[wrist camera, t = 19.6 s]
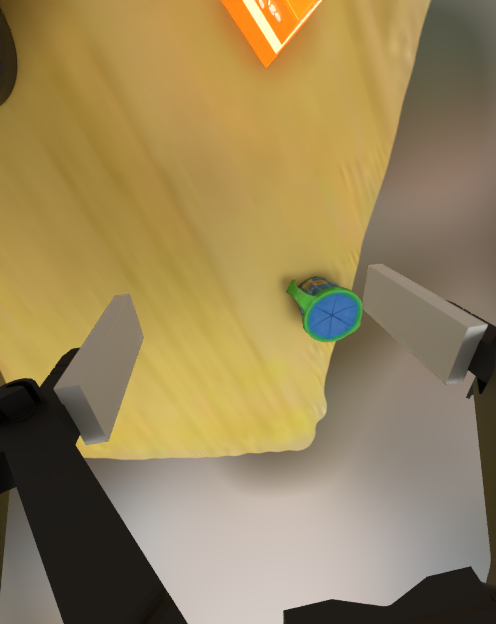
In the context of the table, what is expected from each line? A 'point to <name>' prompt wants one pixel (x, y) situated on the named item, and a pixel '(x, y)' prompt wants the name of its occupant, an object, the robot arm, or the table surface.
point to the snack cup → (326, 309)
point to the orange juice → (270, 22)
